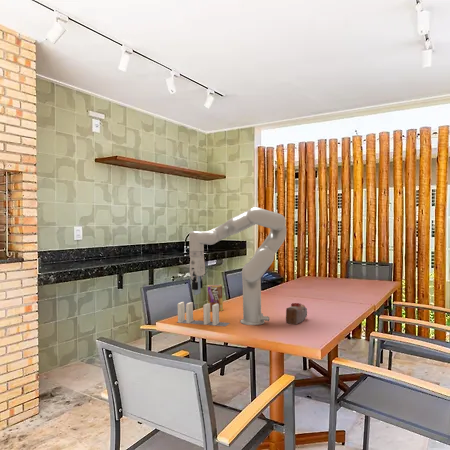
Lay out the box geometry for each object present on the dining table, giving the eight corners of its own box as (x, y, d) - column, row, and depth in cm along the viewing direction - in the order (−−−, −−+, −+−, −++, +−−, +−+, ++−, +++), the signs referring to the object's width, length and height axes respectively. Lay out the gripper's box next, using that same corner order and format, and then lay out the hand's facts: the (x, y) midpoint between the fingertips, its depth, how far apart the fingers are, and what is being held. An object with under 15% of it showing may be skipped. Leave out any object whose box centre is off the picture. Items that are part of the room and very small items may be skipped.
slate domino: (200, 293, 208) (200, 274, 208) (196, 294, 204) (196, 275, 203) (198, 293, 209) (197, 274, 209) (193, 294, 204) (193, 275, 204)
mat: (230, 323, 204) (230, 322, 204) (225, 327, 197) (225, 326, 197) (182, 320, 214) (182, 319, 214) (176, 323, 207) (176, 322, 207)
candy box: (222, 309, 239) (221, 284, 239) (223, 310, 234) (222, 285, 234) (207, 310, 238) (207, 285, 238) (208, 311, 234) (207, 286, 234)
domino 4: (219, 322, 205) (218, 303, 205) (215, 325, 200) (215, 305, 200) (216, 322, 205) (215, 303, 205) (212, 325, 201) (212, 305, 200)
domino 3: (210, 322, 206) (209, 303, 206) (206, 324, 202) (206, 305, 202) (207, 322, 207) (207, 303, 207) (203, 324, 202) (203, 305, 202)
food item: (294, 317, 213) (293, 299, 213) (308, 319, 209) (307, 301, 209) (284, 323, 202) (284, 304, 202) (299, 325, 198) (298, 306, 198)
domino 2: (193, 320, 210) (192, 302, 210) (189, 323, 205) (188, 304, 205) (190, 320, 211) (190, 302, 210) (186, 323, 206) (185, 304, 206)
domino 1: (184, 320, 212) (184, 301, 212) (180, 322, 207) (180, 303, 207) (182, 320, 212) (181, 301, 212) (177, 322, 208) (177, 303, 208)
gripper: (196, 255, 197) (197, 291, 197) (209, 253, 213) (210, 286, 213) (183, 255, 199) (183, 291, 199) (197, 253, 215) (197, 286, 215)
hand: (197, 288), depth 206 cm, fingers closed on slate domino, 4 cm apart
